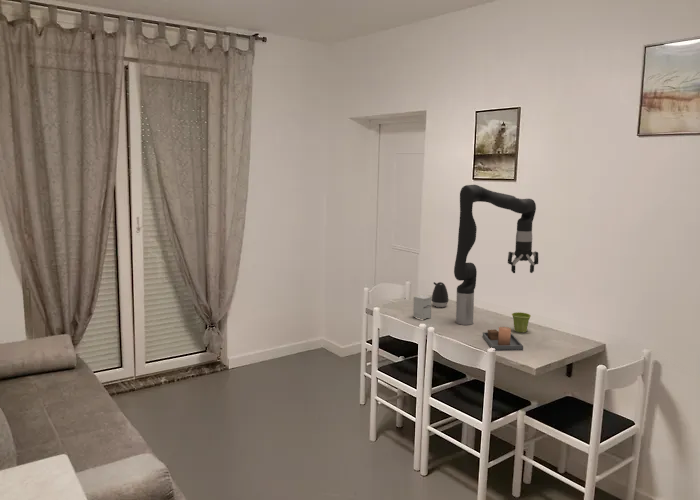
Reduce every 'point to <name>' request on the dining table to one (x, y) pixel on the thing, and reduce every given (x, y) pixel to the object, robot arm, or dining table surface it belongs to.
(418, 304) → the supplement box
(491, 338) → the walnut block
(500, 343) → the cylinder block
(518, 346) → the tray
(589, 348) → the dining table surface
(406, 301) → the dining table surface
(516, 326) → the plant pot
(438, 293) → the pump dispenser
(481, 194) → the robot arm
